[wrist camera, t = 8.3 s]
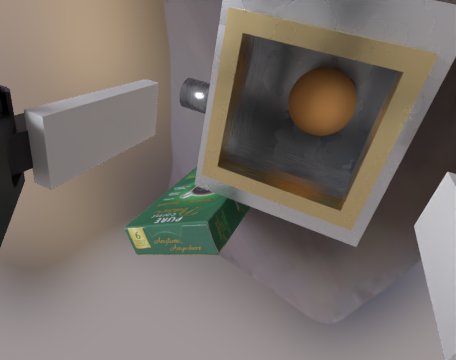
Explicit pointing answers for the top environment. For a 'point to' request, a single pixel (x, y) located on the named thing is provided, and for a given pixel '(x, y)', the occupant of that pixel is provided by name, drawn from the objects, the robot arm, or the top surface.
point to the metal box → (279, 113)
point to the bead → (322, 101)
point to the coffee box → (186, 221)
